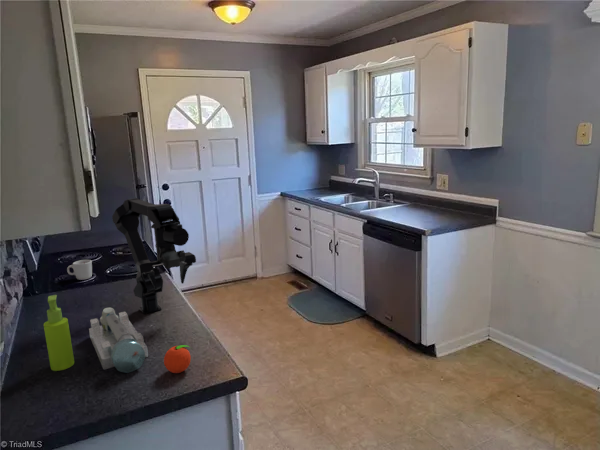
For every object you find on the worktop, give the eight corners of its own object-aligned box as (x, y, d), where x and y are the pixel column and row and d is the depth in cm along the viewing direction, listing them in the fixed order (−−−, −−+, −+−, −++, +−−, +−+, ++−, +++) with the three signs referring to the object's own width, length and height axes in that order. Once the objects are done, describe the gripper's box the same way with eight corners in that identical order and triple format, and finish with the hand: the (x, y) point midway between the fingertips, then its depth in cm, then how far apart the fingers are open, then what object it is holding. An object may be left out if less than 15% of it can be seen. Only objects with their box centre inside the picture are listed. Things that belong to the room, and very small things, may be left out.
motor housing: (90, 337, 138) (86, 313, 137) (129, 327, 145) (126, 304, 143) (107, 379, 113) (103, 351, 111) (154, 364, 119) (150, 338, 118)
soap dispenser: (74, 356, 126) (64, 291, 122) (74, 367, 120) (63, 299, 116) (51, 362, 123) (40, 295, 119) (50, 373, 117) (38, 303, 113)
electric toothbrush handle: (118, 342, 118) (96, 305, 137) (121, 363, 120) (98, 323, 139) (138, 336, 121) (113, 301, 140) (140, 356, 123) (115, 319, 142)
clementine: (188, 360, 121) (186, 337, 119) (200, 370, 115) (197, 345, 114) (161, 371, 116) (158, 346, 114) (171, 381, 111) (168, 355, 109)
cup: (66, 282, 196) (63, 265, 195) (71, 277, 204) (69, 261, 202) (91, 280, 198) (89, 263, 197) (95, 275, 206) (93, 258, 205)
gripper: (141, 251, 133) (147, 299, 136) (199, 241, 143) (203, 286, 146) (133, 244, 142) (139, 289, 145) (188, 236, 152) (192, 278, 155)
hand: (169, 286), depth 148 cm, fingers open, 9 cm apart
